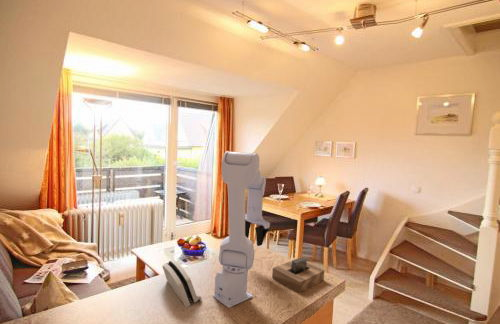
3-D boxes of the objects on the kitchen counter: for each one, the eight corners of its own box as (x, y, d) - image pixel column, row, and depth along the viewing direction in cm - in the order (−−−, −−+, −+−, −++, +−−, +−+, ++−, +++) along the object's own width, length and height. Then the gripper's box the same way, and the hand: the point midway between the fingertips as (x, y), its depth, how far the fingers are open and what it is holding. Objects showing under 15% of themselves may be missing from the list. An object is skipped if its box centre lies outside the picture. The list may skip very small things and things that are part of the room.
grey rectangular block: (294, 282, 95) (296, 262, 94) (290, 280, 96) (291, 260, 96) (305, 277, 99) (306, 258, 98) (300, 275, 100) (302, 256, 100)
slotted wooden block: (299, 292, 88) (300, 282, 88) (272, 277, 97) (272, 268, 97) (323, 279, 98) (324, 270, 98) (296, 267, 107) (297, 258, 107)
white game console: (203, 302, 80) (193, 273, 77) (188, 312, 78) (178, 282, 75) (181, 277, 94) (173, 251, 91) (168, 284, 91) (159, 259, 89)
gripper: (276, 209, 101) (273, 245, 102) (249, 201, 112) (247, 234, 113) (262, 212, 96) (260, 250, 97) (236, 203, 107) (234, 237, 108)
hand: (252, 242), depth 105 cm, fingers open, 7 cm apart
